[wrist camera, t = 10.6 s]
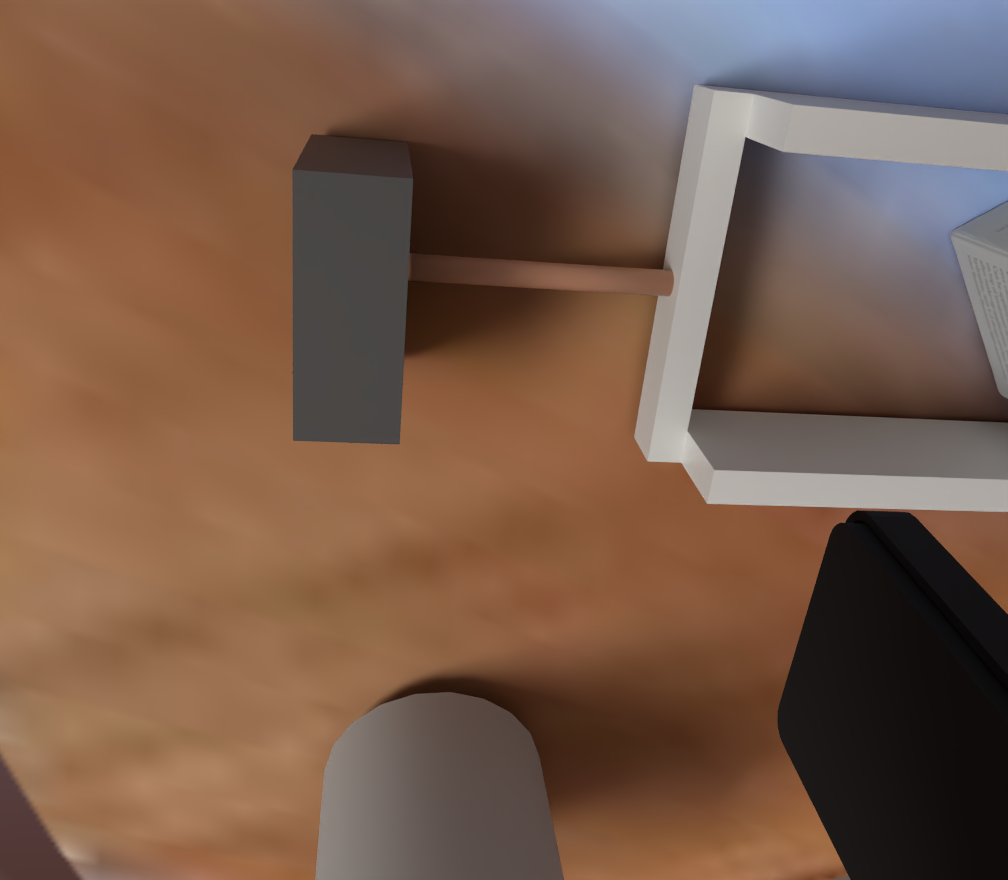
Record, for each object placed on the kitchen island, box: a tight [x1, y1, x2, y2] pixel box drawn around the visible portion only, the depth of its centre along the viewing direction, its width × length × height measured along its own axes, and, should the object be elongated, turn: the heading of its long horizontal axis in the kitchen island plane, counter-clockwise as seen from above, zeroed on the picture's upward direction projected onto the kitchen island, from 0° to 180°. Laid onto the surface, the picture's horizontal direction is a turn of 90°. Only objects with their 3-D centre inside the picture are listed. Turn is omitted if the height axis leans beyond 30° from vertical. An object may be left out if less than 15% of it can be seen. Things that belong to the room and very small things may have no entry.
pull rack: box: [293, 84, 1008, 512], centre depth 24 cm, size 10×26×6 cm, turn 85°
